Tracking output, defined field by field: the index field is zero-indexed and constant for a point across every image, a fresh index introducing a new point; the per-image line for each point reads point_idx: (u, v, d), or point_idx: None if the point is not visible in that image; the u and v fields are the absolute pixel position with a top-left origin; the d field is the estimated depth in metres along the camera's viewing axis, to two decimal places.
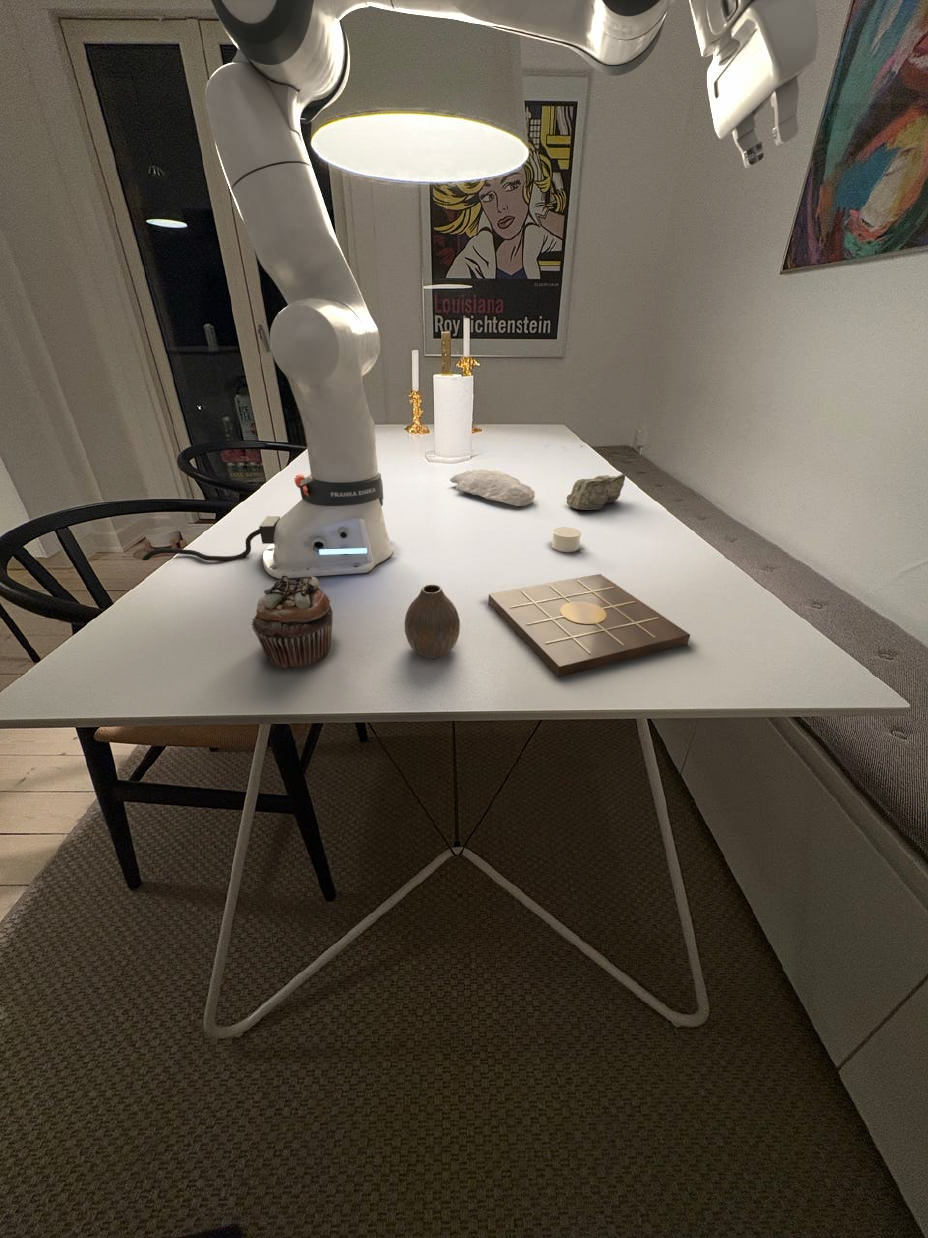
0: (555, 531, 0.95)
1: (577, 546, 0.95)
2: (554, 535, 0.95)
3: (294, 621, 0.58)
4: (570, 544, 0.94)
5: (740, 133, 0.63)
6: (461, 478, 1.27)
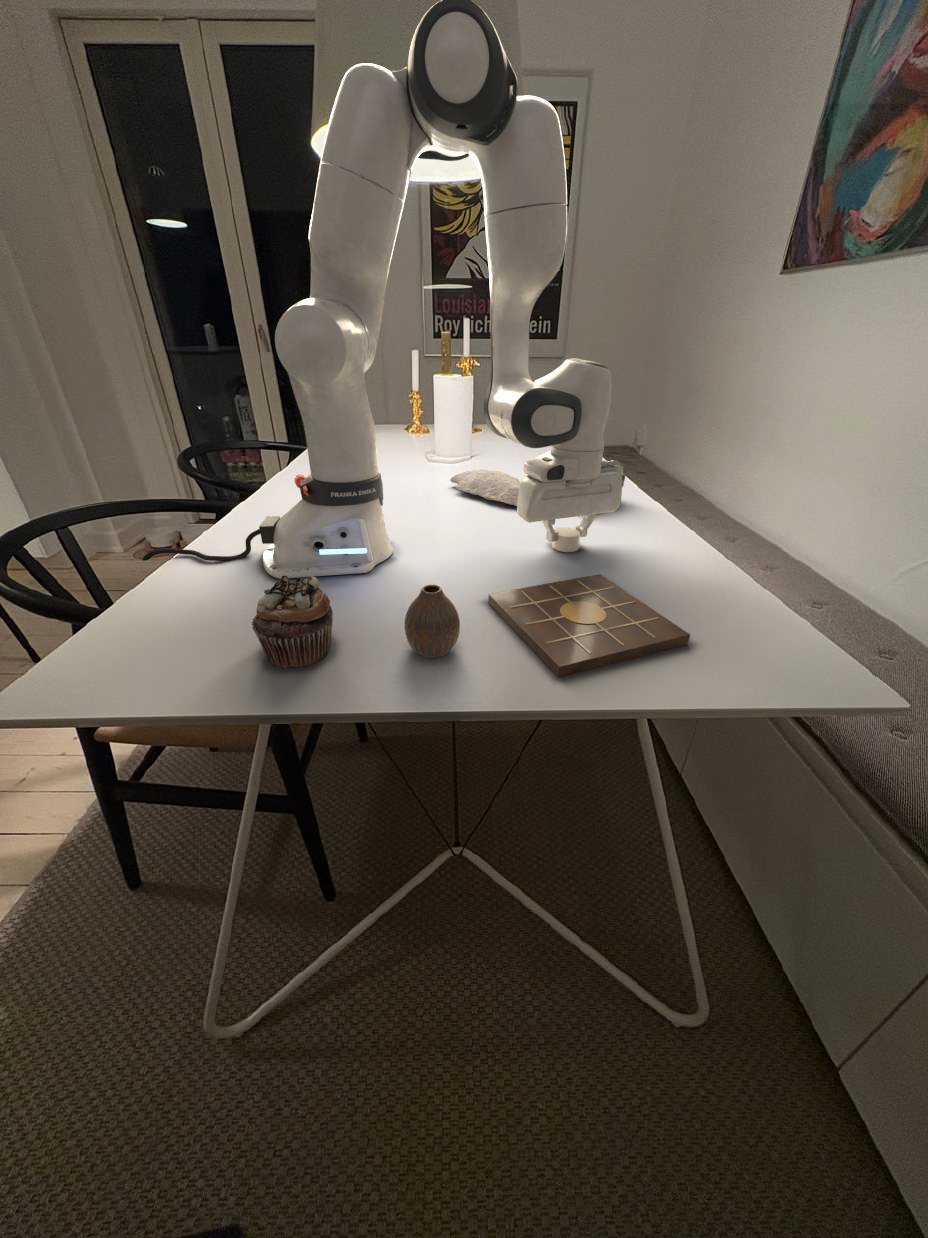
0: None
1: (577, 546, 0.95)
2: None
3: (294, 621, 0.58)
4: (571, 544, 0.94)
5: (583, 515, 0.95)
6: (461, 478, 1.27)
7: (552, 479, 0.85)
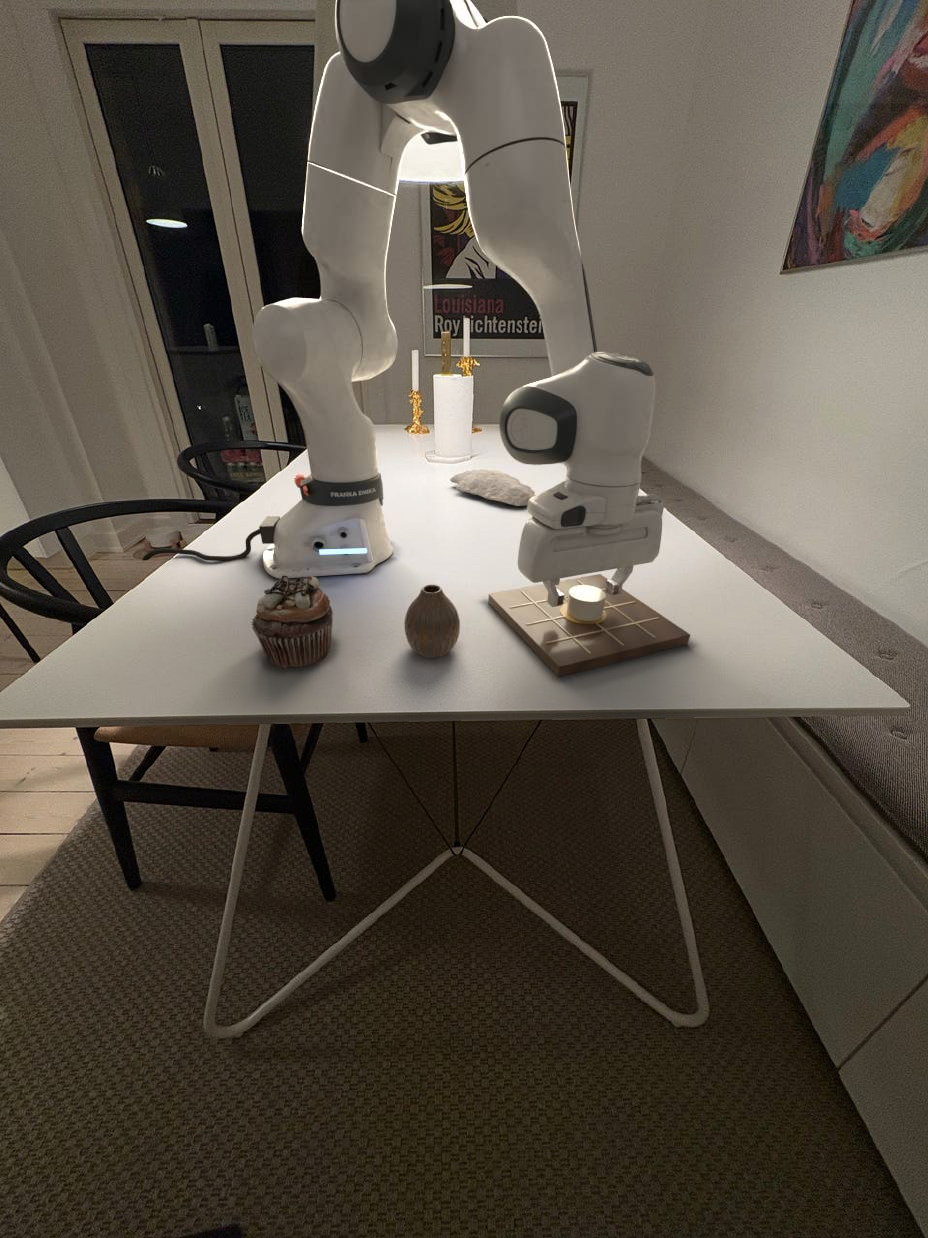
0: (571, 592, 0.70)
1: (601, 613, 0.70)
2: (570, 598, 0.70)
3: (294, 621, 0.58)
4: (593, 611, 0.68)
5: None
6: (461, 478, 1.27)
7: (568, 525, 0.59)
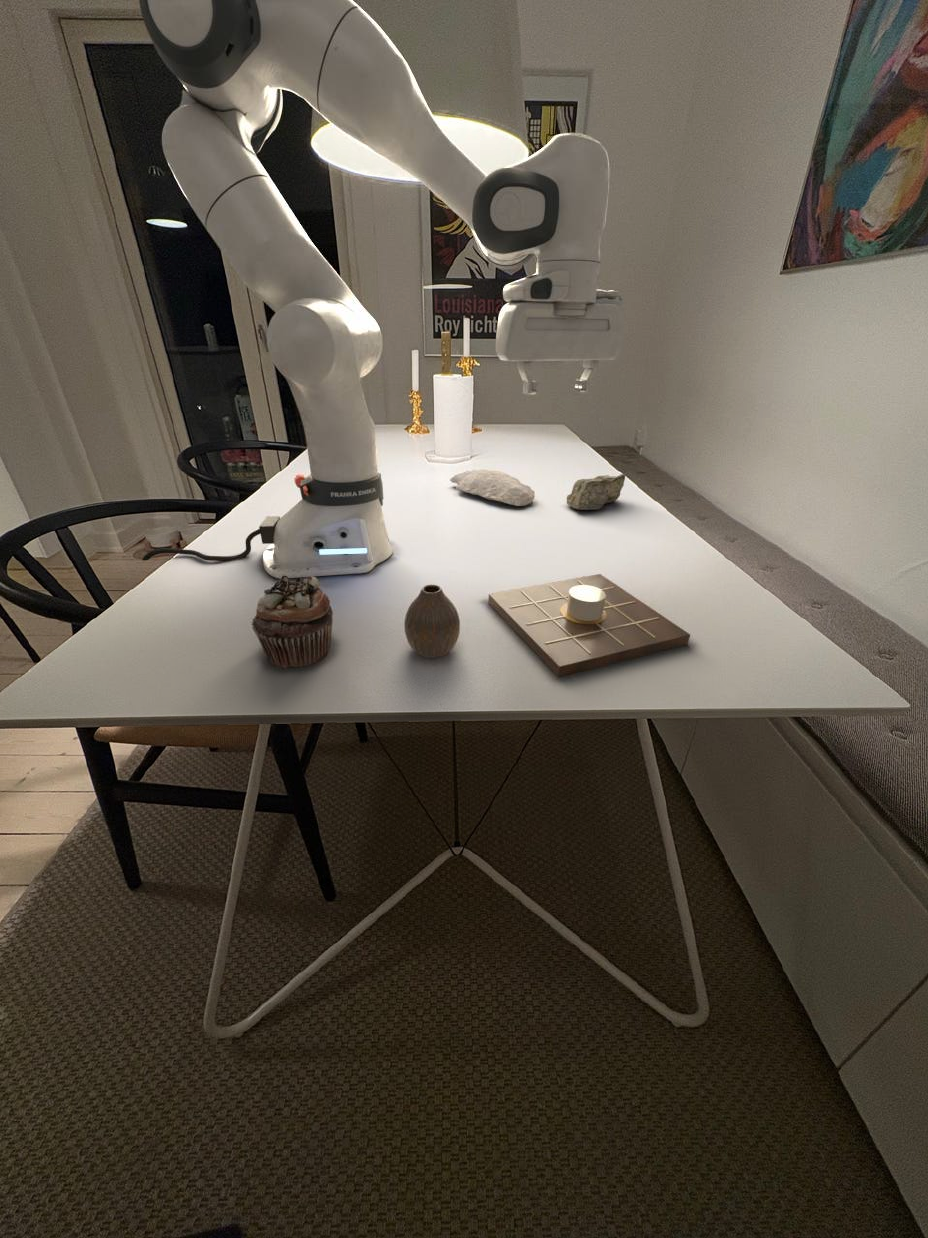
0: (571, 592, 0.70)
1: (601, 613, 0.70)
2: (570, 598, 0.70)
3: (294, 621, 0.58)
4: (593, 611, 0.68)
5: (584, 365, 0.80)
6: (461, 478, 1.27)
7: (537, 297, 0.69)
